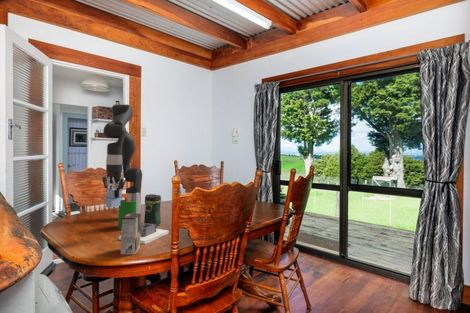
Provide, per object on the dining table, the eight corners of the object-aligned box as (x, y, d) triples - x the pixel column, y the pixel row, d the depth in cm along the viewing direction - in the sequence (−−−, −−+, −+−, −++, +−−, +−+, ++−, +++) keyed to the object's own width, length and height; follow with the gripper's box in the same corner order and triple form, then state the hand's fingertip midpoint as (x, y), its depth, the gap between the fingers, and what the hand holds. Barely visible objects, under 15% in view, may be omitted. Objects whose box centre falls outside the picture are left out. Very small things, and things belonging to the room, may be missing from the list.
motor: (138, 226, 162) (139, 193, 162) (128, 230, 154) (129, 195, 153) (124, 224, 165) (125, 191, 165) (113, 228, 157) (114, 193, 157)
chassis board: (144, 229, 156) (144, 220, 156) (168, 233, 151) (168, 223, 151) (118, 239, 137) (119, 228, 137) (145, 244, 132) (145, 232, 132)
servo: (117, 204, 145) (118, 188, 145) (123, 204, 144) (123, 188, 143) (102, 207, 135) (103, 190, 135) (108, 208, 134) (108, 191, 134)
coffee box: (126, 247, 127) (127, 212, 127) (140, 247, 127) (141, 213, 127) (119, 254, 118) (120, 217, 118) (135, 254, 118) (136, 217, 118)
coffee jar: (162, 224, 169) (163, 194, 169) (153, 227, 162) (154, 196, 162) (151, 222, 173) (151, 192, 173) (141, 224, 166) (142, 194, 166)
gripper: (130, 164, 140) (129, 197, 140) (109, 162, 145) (108, 195, 146) (119, 164, 133) (118, 199, 133) (97, 163, 138) (97, 197, 139)
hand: (113, 197), depth 139 cm, fingers closed on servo, 3 cm apart
